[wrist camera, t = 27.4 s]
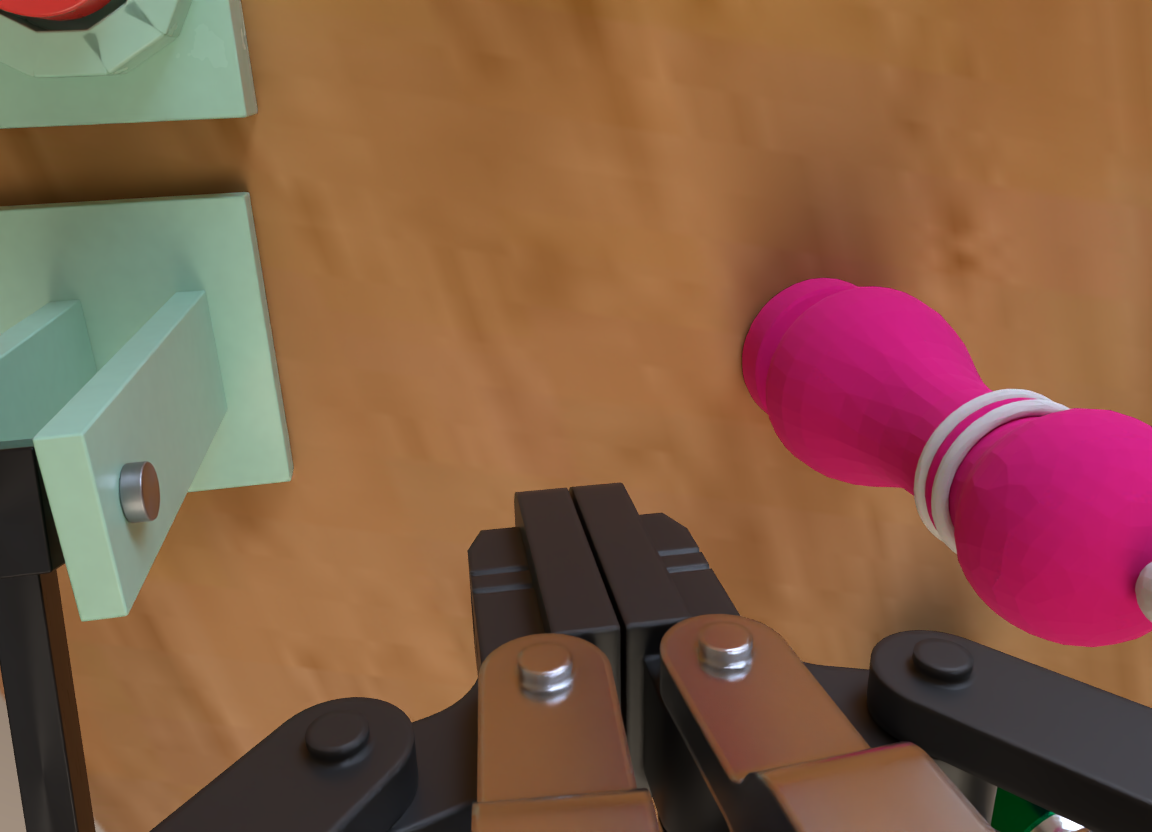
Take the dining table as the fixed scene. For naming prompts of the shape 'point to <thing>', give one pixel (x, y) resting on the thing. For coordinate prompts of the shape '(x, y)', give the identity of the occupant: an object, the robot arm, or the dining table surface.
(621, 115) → the dining table surface
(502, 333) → the dining table surface
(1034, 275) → the dining table surface
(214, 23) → the button housing
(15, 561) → the black ball lever
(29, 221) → the lever bracket
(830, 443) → the pepper mill
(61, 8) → the button
